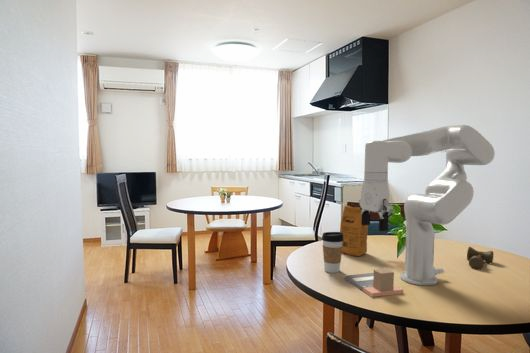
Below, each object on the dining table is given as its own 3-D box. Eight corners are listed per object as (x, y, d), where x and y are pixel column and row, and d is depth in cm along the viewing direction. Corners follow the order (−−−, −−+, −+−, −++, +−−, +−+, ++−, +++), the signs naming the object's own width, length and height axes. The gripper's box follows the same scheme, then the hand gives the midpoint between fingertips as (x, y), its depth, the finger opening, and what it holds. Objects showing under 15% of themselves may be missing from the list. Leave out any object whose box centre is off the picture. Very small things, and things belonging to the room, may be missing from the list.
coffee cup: (343, 274, 135) (344, 235, 134) (320, 272, 137) (321, 234, 136) (342, 267, 143) (343, 231, 142) (321, 266, 145) (322, 230, 144)
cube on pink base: (393, 287, 122) (394, 267, 121) (403, 293, 117) (403, 271, 117) (363, 291, 118) (363, 270, 118) (371, 297, 114) (372, 275, 113)
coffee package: (347, 248, 173) (348, 203, 172) (370, 253, 164) (371, 206, 162) (335, 252, 166) (336, 205, 165) (358, 257, 157) (359, 208, 156)
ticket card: (372, 275, 134) (373, 272, 134) (392, 287, 122) (393, 283, 122) (344, 278, 130) (344, 275, 130) (362, 291, 119) (362, 287, 119)
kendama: (461, 268, 146) (469, 256, 161) (489, 273, 140) (494, 260, 156) (462, 254, 145) (470, 243, 161) (490, 259, 139) (495, 247, 155)
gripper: (351, 176, 126) (350, 223, 127) (382, 179, 109) (380, 234, 111) (369, 175, 128) (368, 222, 129) (402, 179, 112) (400, 232, 113)
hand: (374, 227), depth 120 cm, fingers open, 9 cm apart
